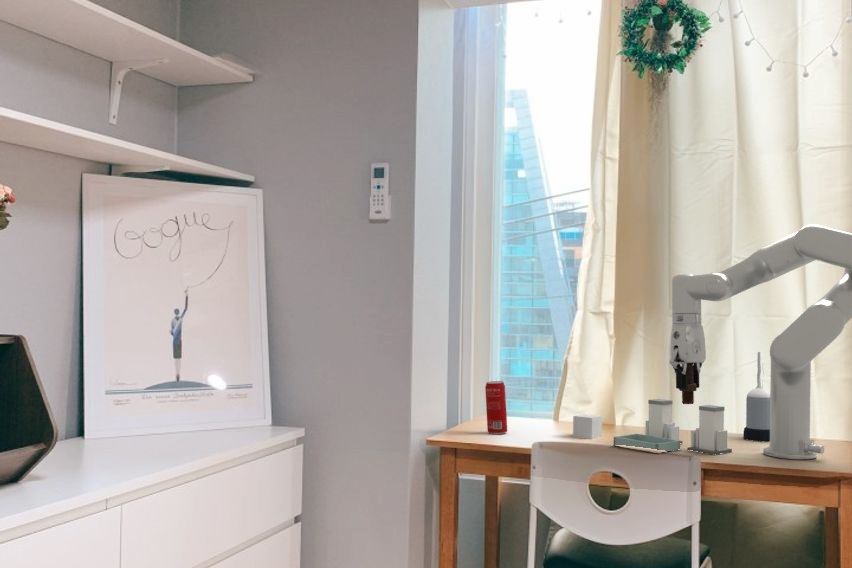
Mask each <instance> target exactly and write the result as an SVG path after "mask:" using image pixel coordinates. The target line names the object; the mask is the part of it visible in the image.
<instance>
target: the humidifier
mask: <svg viewBox="0 0 852 568" xmlns="http://www.w3.org/2000/svg"><path fill="white" fill-rule="evenodd" d="M761 367H762V368H761ZM762 369H764V365H762V366H761V351H757V374H756V384H757V385H756V387H755V388H752V389H751V390H749V392H748V393H747V395H746V398H745V399H746V400H745V401H746V404H745V405H746V406H745V407H746V412H745V414H746V417H745V421H746V423H745V427H744V428H743V435H742V436H743V437H742V438H743V439H744V440H746V439H748V440H747V441H751V440H753V441H752V442H762V441H764V442H763V443H766V442H769V443H770V391H767V390H766V389H764V388H763V387H764V385H762V384H761V373H762V376H764V374H765V372H764V370H762Z"/></svg>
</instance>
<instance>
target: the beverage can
mask: <svg viewBox="0 0 852 568" xmlns="http://www.w3.org/2000/svg"><path fill="white" fill-rule="evenodd" d="M484 388H485V407H486V427H487V433H488V434H489V433H490V435H502V434H503V435H504V434H506V433H508V419H507V417H508V416H507V399H506V398H507V397H506V385H505V383H504V381H502V380H500V381H499V380H495V381H494V380H493V381H492V380H491V381H487V382H486V384H485V387H484Z"/></svg>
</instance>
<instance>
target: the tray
mask: <svg viewBox="0 0 852 568" xmlns="http://www.w3.org/2000/svg"><path fill="white" fill-rule="evenodd" d="M680 441H681V440H680V439H679V440H673V439H667V438H661V437H655V436H648V435H645V434H641V433H632V434H625V435H619V436H613V446H614V445H626V446H635V447H643V448H651V449H657V450H665V451H672V452H674V451H673V450H678V449H680V450H681V444H680ZM678 451H679V450H678Z"/></svg>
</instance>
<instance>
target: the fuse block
mask: <svg viewBox="0 0 852 568" xmlns="http://www.w3.org/2000/svg"><path fill="white" fill-rule="evenodd" d="M647 400H648V403H647V404H648V420H645V434H644V435H648V436H655V437H661V438H667V439H673V440H679V441H680V443H682V444H683V440H680V426H677V425H676V423H675V422H672V421H673V418H672V417H673V413H672V412H673V411H672V410H673V400H672V399H663V398H661V399H660V398H653V399H647ZM698 411H699V413H698V414H699V416H698V418H699V420H698V421H699V423H698V426H699V427H696V428H695V429H693V430H691V431H690V446H689V447H687V449H686V451H687V450H693V451H698V452H703V453H702V454H704V453H708V454H707V455H710V454H714V455H713V456H716V455H715V454H718V455H721V454H720V453H724V454H728V453H727V452H729V453H732V452H733V449H732V448H728V430H725V429H724V428H725V425H724V424H725V406H723V405H722V406H721V405H712V404H704V405H698ZM693 451H692V452H693ZM698 452H697V453H698Z"/></svg>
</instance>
